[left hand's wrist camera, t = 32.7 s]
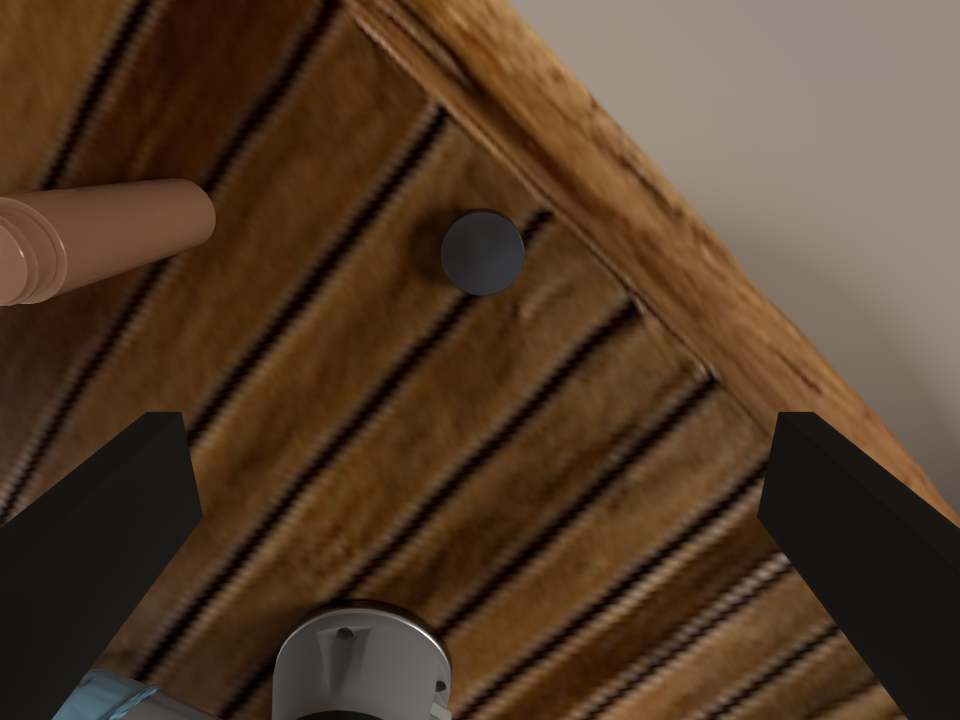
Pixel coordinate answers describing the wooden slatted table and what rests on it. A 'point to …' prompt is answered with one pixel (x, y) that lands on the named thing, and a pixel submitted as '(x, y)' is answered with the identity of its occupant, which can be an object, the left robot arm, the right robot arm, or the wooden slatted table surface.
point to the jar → (95, 234)
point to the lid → (482, 252)
